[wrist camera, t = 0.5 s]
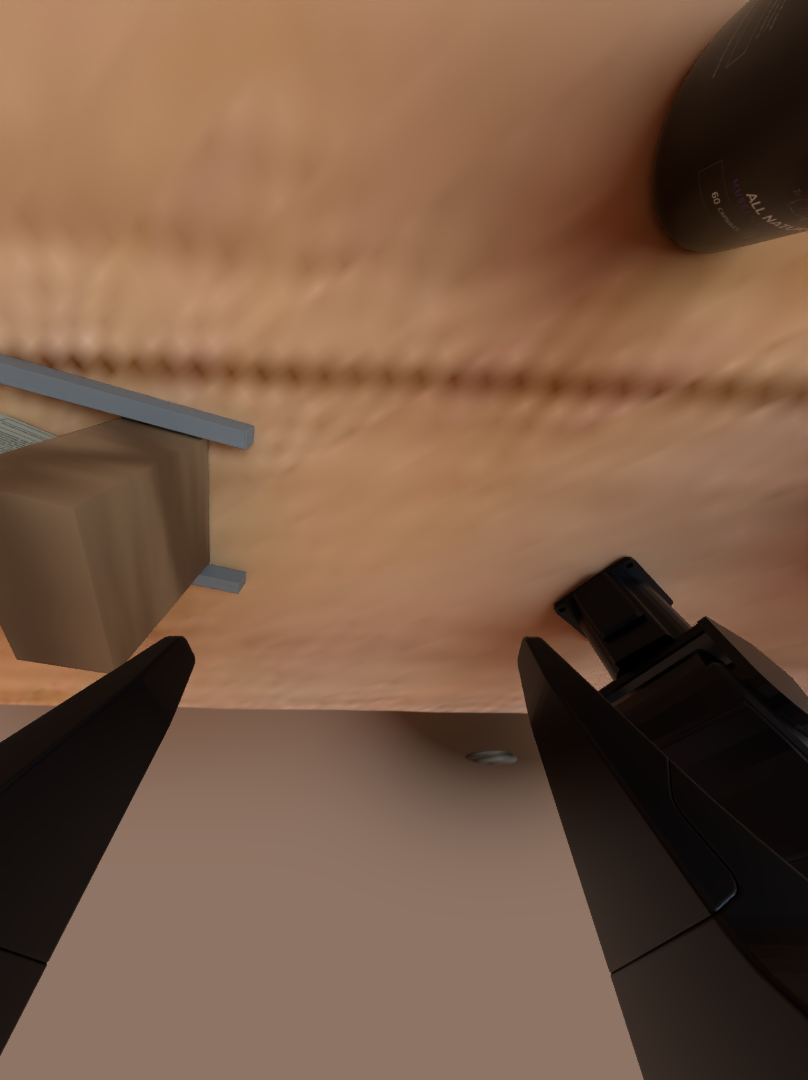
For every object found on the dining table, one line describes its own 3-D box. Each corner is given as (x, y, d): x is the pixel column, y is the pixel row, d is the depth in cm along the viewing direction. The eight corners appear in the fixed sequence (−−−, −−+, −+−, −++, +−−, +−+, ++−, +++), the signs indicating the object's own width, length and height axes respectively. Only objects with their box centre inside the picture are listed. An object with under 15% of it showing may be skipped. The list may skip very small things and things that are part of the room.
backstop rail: (255, 403, 18) (197, 431, 13) (244, 594, 25) (204, 662, 20) (-249, 255, 14) (-606, 212, 9) (-96, 525, 21) (-251, 585, 16)
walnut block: (207, 436, 18) (73, 507, 11) (209, 561, 23) (115, 674, 15) (130, 415, 18) (-72, 475, 10) (147, 548, 22) (17, 659, 15)
